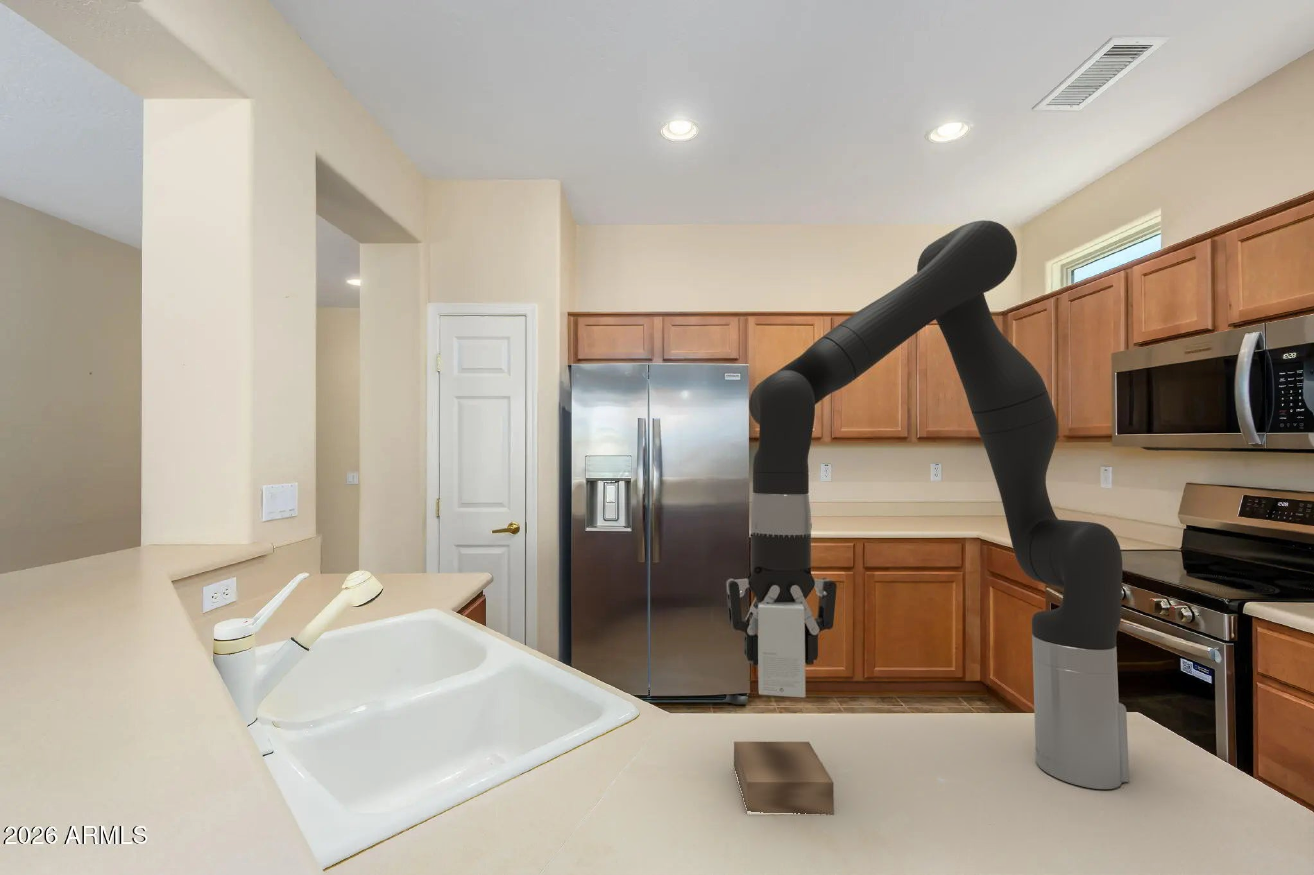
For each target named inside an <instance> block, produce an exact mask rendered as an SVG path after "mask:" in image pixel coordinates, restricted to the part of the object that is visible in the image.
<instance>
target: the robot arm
mask: <svg viewBox="0 0 1314 875" xmlns="http://www.w3.org/2000/svg"><path fill="white" fill-rule="evenodd" d="M1017 246H1018V245H1017V242H1016V240H1015V237H1014V236H1013V233H1012V232H1011V231H1009V229H1008V228H1007V227H1006V226H1004V225H1003V224H1001V223H999V222H997V221H992V220H976V221H972V222H969V223H964V224H963V225H961V226H959V227H957V228H955V229H954V230H952V231H950V232H949V233H946V234H945V235H943V236H941V237H939V238H938V239H936V240H935V241H934V240H933V242H931V243H930V244H928V246H926V247H925V248H924V250H922V252H921V254H920V255H919V258H918V261H917V267H916V273H915V274H914V275H912V276H911V277H910V278H908V279H907V280H905V282H903V283H902V284H900V285H898V286H897V287H895V288H894V289H893V290H891V291H889V292H887V293H886V294H883V296H882V297H880V298H878V299H876V300H874V301H873V302H871V303H870V304H868V305H867V306H865V307H863V308H861V309H860V310H858V311H856V312H855V313H854V314H851V315H850V316H849V317H847V318H846V319H845V320H843V321H842V322H840V323H839V324H837V325H836V326H835V327H833V328H832V329H830V330H829V331H828V332H827V333H825V334H824V335H823V336H821V337H820V338H819V339H817V340H816V341H815V342H814V343H813V344H811V345H810V347H808V348H807V349H806V350H805V351H804V352H802V354H800V355H799V356H798V357H796V358H795V359H793V360H792V361H789V363H788V364H786V365H785V366H783V367H781V368H780V369H778V370H777V371H776V372H773V373H772V374H770V375H768V376H767V377H766V378H765V379H763V380H762V381H760V382H759V383H758V384H757V385H756V386H755V387H754V388H753V390H752V391H751V394H750V397H749V402H748V408H749V409H748V410H749V413H750V416H751V417H752V419H753V420H754V422H755V423H756V424H757V425H759V436H758V438H759V439H758V442H759V443H758V448H757V450H756V452H755V454H754V457H753V463H752V501H751V507H750V571H749V574H748V576H747V578H739V579H734V578H732V577H730V578H729V577H728V578H726V580H725V590H726V602H727V613H728V622H729V624H730V626H732V629H734V630H735V631H740V632H743V636H744V637H743V638H744V639H743V643H744V645H743V649H744V650H743V654H744V657H745V658H746V659H747V661H748V662H749V664H750V665H751V666H754V667H755V666H757V667H758V605H759V602H760V604H767V603H768V604H773V602H795V603H800V602H801V603H802V604H803V606H804V609H805V665H806V666H807V665H808V666H813V665H814V663H815V662H814V661H817V660H818V657H819V634H820V633H821V632H822V631H824V630H832V629H833V627H834V619H835V611H836V610H835V608H836V600H837V599H836V597H837V588H838V586H837V583H836V582H835V581H833V580H831V579H829V578H827V577H823V578H822V579H819V578H814V577H813V573H812V528H813V522H812V512H811V511H812V510H811V505H810V497H809V496H810V495H809V494H810V492H809V491H810V490H809V489H810V488H809V486H810V484H809V482H810V481H809V479H810V478H809V477H810V476H809V473H810V472H809V471H810V470H809V469H810V468H809V455H810V449H811V445H812V438H813V433H814V426H815V415H816V405H817V404H818V403H820V402H821V401H822V400H824V399H825V398H826V397H827V396H829V395H830V394H832V393H834V392H836V391H840V390H841V389H842V388H845V387H846V386H848V385H849V384H851V383H852V382H854V381H855V380H856V379H858V378H859V377H860V376H862V375H863V374H864V373H865V372H867V371H868V370H870V369H871V368H872V367H873V366H875V365H876V364H877V363H879V362H880V361H881V360H882V359H884V358H885V357H886V356H888V355H889V354H890V353H893V351H894V350H896V349H897V348H898V347H899V346H901V345H902V344H903V343H905V342H906V341H907V340H908V339H910V338H912V336H914V335H915V334H917V333H919V331H921V330H922V329H923V328H925V327H927V325H929V324H930V323H932V322H934V321H936V323H937V325H938V327H939V329H940V331H941V333H942V336H943V338H944V340H945V343H946V344H947V347H948V349H949V350H948V351H949V352H950V355H951V358H952V360H953V363H954V365H955V368H956V371H957V374H958V377H959V379H960V382H961V385H962V387H963V389H964V393H965V396H966V399H967V402H968V405H969V409H970V411H971V414H972V417H973V420H974V424H975V425H976V428H977V431H978V434H979V436H980V439H981V443H982V444H983V446H984V450H985V451H986V454H987V458H988V460H989V463H990V466H991V469H992V473H993V476H994V480H995V483H996V484H997V488H998V492H999V496H1000V498H1001V502H1002V507H1003V510H1004V511H1003V512H1004V515H1005V519H1006V523H1007V524H1006V525H1007V528H1008V533H1009V537H1010V542H1011V545H1012V549H1013V553H1014V556H1015V558H1016V561H1017V563H1018V565H1019V567H1020V569H1021V570H1022V571H1023V573H1024V574H1025V575H1027V577H1029V579H1032V580H1034V581H1036V582H1038V583H1041V584H1043V585H1049V586H1055V587H1059V588H1063V592H1062V599H1061V600H1062V601H1061V605H1060V606H1059V607H1057V608H1055V609H1054V608H1053V609H1047V610H1041V611H1040V610H1039V611H1037V612H1035V613H1034V614H1033V615H1032V617H1031V639H1032V640H1031V641H1032V642H1031V643H1032V668H1033V669H1032V673H1033V674H1032V675H1033V703H1034V705H1033V708H1034V741H1035V742H1034V743H1035V746H1034V747H1035V748H1034V749H1035V763H1036V764H1037V766H1038V767H1039V768H1040V769H1041V770H1042V771H1044V772H1046V773H1047V774H1049V775H1050V776H1052V777H1054V778H1056V779H1059V780H1061V781H1063V782H1066V783H1069V784H1072V785H1076V786H1079V787H1083V788H1088V789H1096V790H1111V789H1112V790H1113V789H1118V787H1120V786H1121V785H1122V783H1130V768H1129V767H1130V766H1129V745H1128V744H1129V742H1128V720H1127V718H1128V717H1127V708H1126V706H1125V705H1124V704H1123V703H1121V702H1119V681H1118V679H1119V678H1118V677H1119V676H1118V674H1119V673H1118V661H1117V660H1118V652H1117V633H1118V631H1119V627H1120V624H1121V622H1122V621H1121V620H1122V597H1123V596H1122V595H1123V594H1122V593H1123V555H1122V551H1121V550H1122V549H1121V546H1120V543H1119V540H1118V538H1117V536H1116V535H1115V534H1114V532H1113V531H1112V530H1111V529H1110V528H1109V527H1107V526H1105V525H1103V524H1101V523H1098V522H1090V521H1080V520H1070V519H1068V520H1067V519H1059V518H1058V517H1057V516H1056V514H1055V511H1054V509H1053V505H1052V503H1051V501H1050V497H1049V494H1048V489H1047V481H1046V480H1047V472H1048V469H1049V465H1050V462H1051V458H1052V456H1053V453H1054V450H1055V446H1056V443H1057V438H1058V432H1059V429H1058V428H1059V424H1058V419H1057V415H1056V412H1055V408H1054V407H1053V403H1052V400H1051V398H1050V394H1049V392H1048V388H1047V387H1046V384H1045V382H1044V380H1043V378H1042V375H1041V374H1040V373H1039V371H1038V370H1037V369H1036V368H1035V366H1034V365H1033V364H1032V363H1031V362H1030V360H1028V359H1027V357H1025V355H1023V354H1022V353H1021V352H1020V351H1019V350H1018V349H1017V347H1015V346H1014V345H1013V344H1012V343H1011V342H1010V340H1009V339H1007V337H1006V336H1004V335H1003V333H1002V332H1001V330H1000V329H999V328H998V326H997V324H996V322H995V320H994V318H993V317H992V313H991V311H990V308H989V305H988V303H987V300H986V296H985V294H986V293H987V292H989V291H992V290H993V289H995V288H997V287H998V286H1000V285H1001V284H1002V283H1003V282H1004V281H1005V280H1006V279H1007V278H1008V276H1010V275H1011V273H1012V271H1013V270H1014V268H1015V265H1016V262H1017V258H1018V248H1017ZM748 588H749V590H750V591H751V593H752V595H754V600H753V601H752V603H751V605H750V607H749V611H748V613H747V615H746V617H745V619H743V615H742V605H741V598H742V597H743V596H744V595H745V593H746V592H745V591H746V589H748ZM813 589H815V593H816V595H817V596H818V608H817V617H816V618H815V617H814V615H813V612H812V610H811V608H810V606H809V604H808V603H807V601H806V600H807V598H808V597H809V595H810V594H811V592H812V591H813Z"/></svg>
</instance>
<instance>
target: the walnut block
mask: <svg viewBox="0 0 1314 875" xmlns="http://www.w3.org/2000/svg"><path fill="white" fill-rule="evenodd" d="M734 767H735V771H736V774H737V777H738V781H739V785H740V788H741V791H742V794H743V798H744V802H745V805H746V808H747V811H751V812H760V813H761V812H763V813H793V814H794V813H796V814H798V813H800V814H805V813H806V814H820V815H819V816H822V815H821V814H826V815H825V816H834V815H835V814H834V812H835V811H834V808H835V806H834V802H835V800H834V799H835V798H834V792H835V791H834V781H833V779H832V778H831V776H830V774H829V772H828V771H827V768H825V766H824V764H823V763H822V761H821V759H820V758H819V756H818V754H817V752H816V751H815V749H814V748H813V746H812V745H811V742H810V741H733V768H734ZM739 785H738V786H739ZM744 802H743V803H744ZM745 805H744V806H745ZM828 814H829V815H828Z"/></svg>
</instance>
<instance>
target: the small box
mask: <svg viewBox="0 0 1314 875" xmlns="http://www.w3.org/2000/svg"><path fill="white" fill-rule="evenodd" d="M757 635H758V666H757V669H758V670H757V671H758V672H757V674H758V676H757V680H758V694H759V695H765V696H777V697H790V698H792V697H793V698H806V663H805V609H804V606H803V604H802V603H801V602H800V603H795V602H773V604H768V603H767V604H760V602H759V605H758V630H757Z"/></svg>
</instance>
